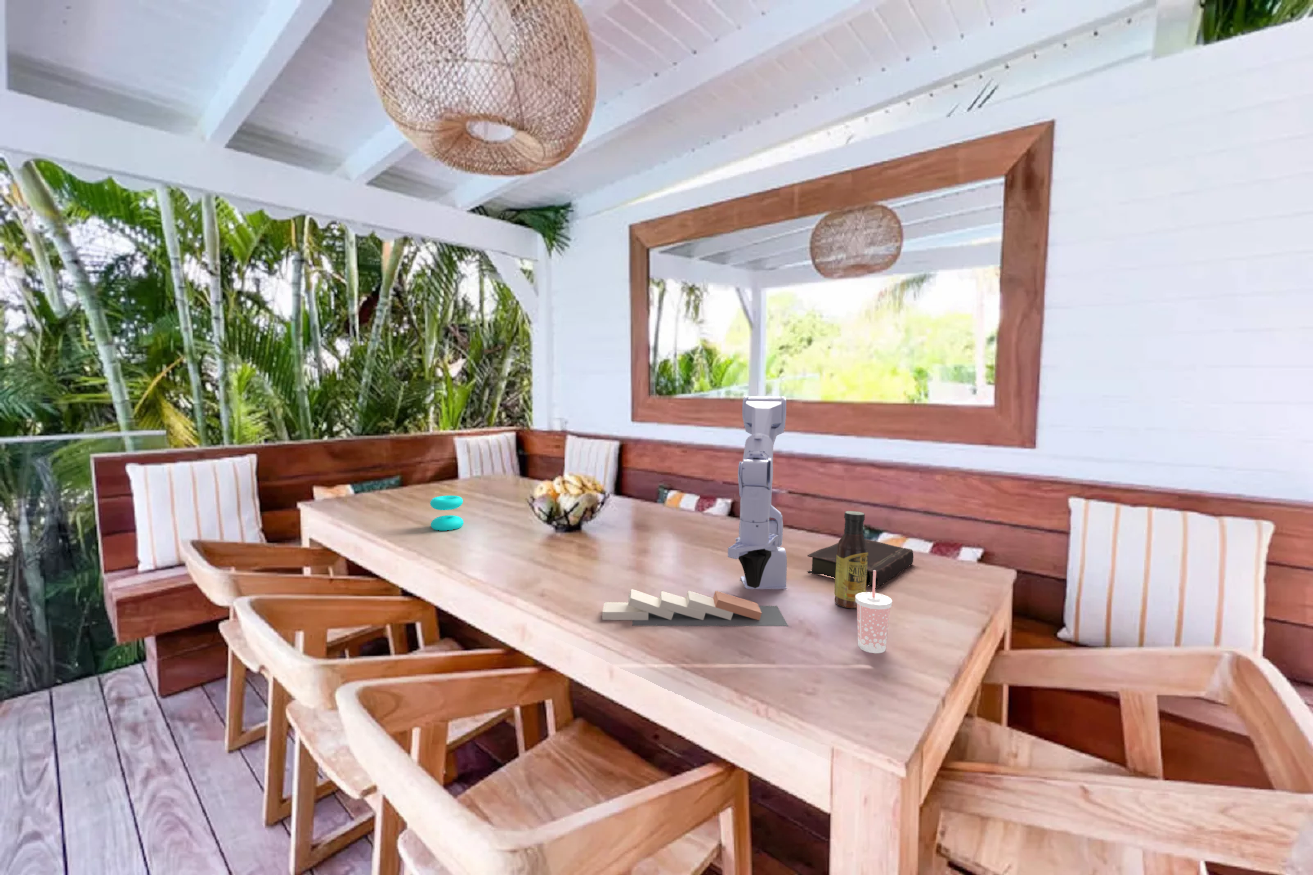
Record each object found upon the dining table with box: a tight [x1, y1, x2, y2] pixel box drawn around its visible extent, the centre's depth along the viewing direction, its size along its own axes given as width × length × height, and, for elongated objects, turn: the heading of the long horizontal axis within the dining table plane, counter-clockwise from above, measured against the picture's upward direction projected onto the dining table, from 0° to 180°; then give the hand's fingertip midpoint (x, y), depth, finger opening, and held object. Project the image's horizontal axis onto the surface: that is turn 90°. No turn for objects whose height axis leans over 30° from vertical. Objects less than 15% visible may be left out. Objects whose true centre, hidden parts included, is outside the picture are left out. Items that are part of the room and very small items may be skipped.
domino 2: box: [627, 588, 674, 620], centre depth 114 cm, size 2×5×9 cm
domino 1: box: [601, 601, 648, 621], centre depth 114 cm, size 2×5×9 cm
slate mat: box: [631, 605, 789, 627], centre depth 114 cm, size 30×10×1 cm, turn 90°
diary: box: [807, 538, 914, 589], centre depth 145 cm, size 19×25×5 cm
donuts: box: [429, 495, 464, 532], centre depth 184 cm, size 10×10×10 cm
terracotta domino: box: [712, 590, 762, 620], centre depth 114 cm, size 2×5×9 cm
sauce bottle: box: [833, 510, 868, 609], centre depth 120 cm, size 6×6×20 cm
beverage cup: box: [855, 570, 893, 654], centre depth 100 cm, size 6×6×14 cm
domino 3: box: [658, 590, 705, 620], centre depth 114 cm, size 2×5×9 cm
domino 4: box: [685, 590, 733, 620], centre depth 114 cm, size 2×5×9 cm
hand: (753, 586), depth 113 cm, fingers closed
